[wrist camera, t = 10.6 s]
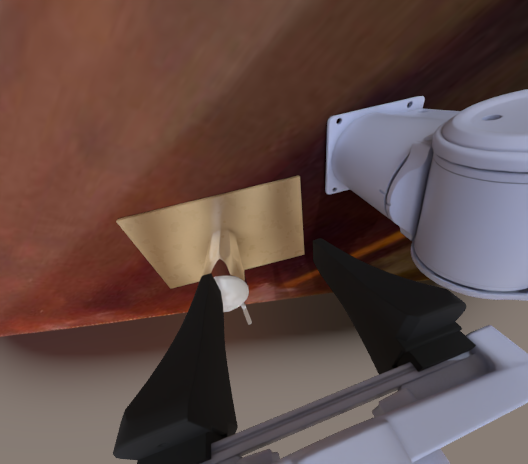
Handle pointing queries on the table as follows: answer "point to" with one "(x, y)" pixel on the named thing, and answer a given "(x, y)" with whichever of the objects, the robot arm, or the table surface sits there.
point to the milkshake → (227, 270)
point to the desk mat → (221, 217)
